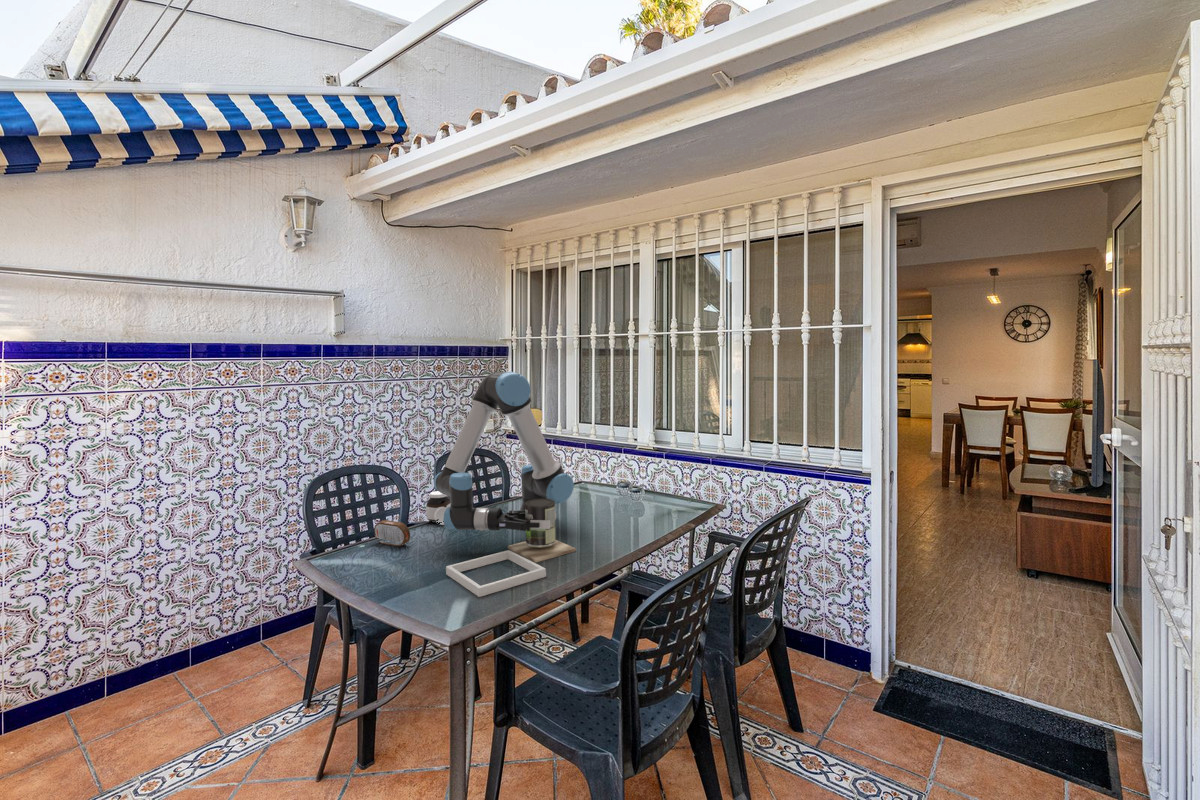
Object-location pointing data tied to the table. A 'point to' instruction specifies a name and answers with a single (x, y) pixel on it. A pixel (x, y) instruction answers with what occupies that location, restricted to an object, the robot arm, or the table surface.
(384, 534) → the tin
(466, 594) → the table surface
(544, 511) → the coffee can
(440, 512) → the spread jar
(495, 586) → the white square frame
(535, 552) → the board
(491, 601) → the table surface
